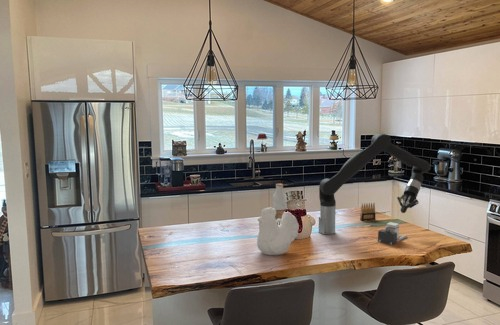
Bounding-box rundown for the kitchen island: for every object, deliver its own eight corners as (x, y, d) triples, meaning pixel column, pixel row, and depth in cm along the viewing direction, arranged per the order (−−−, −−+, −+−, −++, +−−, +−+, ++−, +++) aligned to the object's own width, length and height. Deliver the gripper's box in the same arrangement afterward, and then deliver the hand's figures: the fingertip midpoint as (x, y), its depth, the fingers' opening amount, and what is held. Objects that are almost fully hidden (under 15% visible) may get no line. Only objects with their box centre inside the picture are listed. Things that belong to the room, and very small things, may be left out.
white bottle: (269, 225, 261) (269, 183, 258) (281, 223, 265) (282, 182, 262) (276, 229, 252) (276, 185, 249) (289, 227, 257) (289, 184, 253)
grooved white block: (390, 237, 228) (390, 222, 226) (398, 239, 224) (399, 223, 223) (385, 239, 224) (386, 223, 223) (394, 241, 220) (395, 225, 219)
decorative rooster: (262, 260, 198) (262, 212, 195) (252, 250, 213) (252, 205, 210) (307, 254, 206) (308, 208, 203) (295, 245, 220) (295, 201, 217)
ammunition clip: (361, 220, 270) (361, 203, 269) (360, 220, 272) (360, 203, 271) (375, 219, 273) (376, 202, 271) (374, 219, 275) (374, 202, 273)
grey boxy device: (392, 236, 235) (393, 219, 233) (407, 240, 228) (408, 222, 227) (377, 244, 222) (378, 225, 220) (393, 247, 215) (393, 228, 214)
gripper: (400, 183, 240) (389, 206, 233) (422, 186, 231) (412, 210, 224) (403, 191, 245) (393, 213, 238) (425, 194, 235) (415, 217, 228)
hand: (402, 212), depth 231 cm, fingers closed
